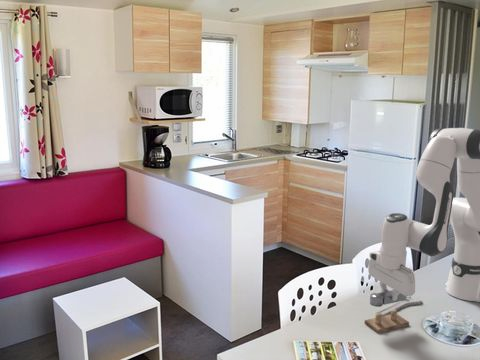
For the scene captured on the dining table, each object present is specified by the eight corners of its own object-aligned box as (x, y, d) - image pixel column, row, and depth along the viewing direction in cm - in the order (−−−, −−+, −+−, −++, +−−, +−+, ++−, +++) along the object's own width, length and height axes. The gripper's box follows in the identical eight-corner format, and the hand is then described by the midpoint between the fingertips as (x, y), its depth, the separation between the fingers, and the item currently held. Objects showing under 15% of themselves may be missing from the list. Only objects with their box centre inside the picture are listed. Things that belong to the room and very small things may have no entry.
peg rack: (395, 316, 173) (396, 304, 172) (408, 325, 166) (409, 312, 165) (364, 323, 167) (365, 311, 166) (377, 332, 161) (378, 320, 160)
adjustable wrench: (379, 320, 171) (379, 315, 170) (366, 312, 176) (366, 308, 176) (423, 303, 184) (423, 299, 183) (409, 296, 189) (410, 292, 189)
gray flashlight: (398, 295, 169) (399, 287, 169) (407, 300, 165) (408, 292, 165) (367, 302, 164) (367, 294, 163) (375, 307, 160) (375, 299, 159)
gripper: (421, 269, 154) (417, 308, 156) (380, 249, 172) (377, 284, 175) (407, 272, 151) (403, 311, 154) (366, 251, 169) (363, 286, 172)
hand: (389, 297), depth 165 cm, fingers closed on gray flashlight, 3 cm apart
